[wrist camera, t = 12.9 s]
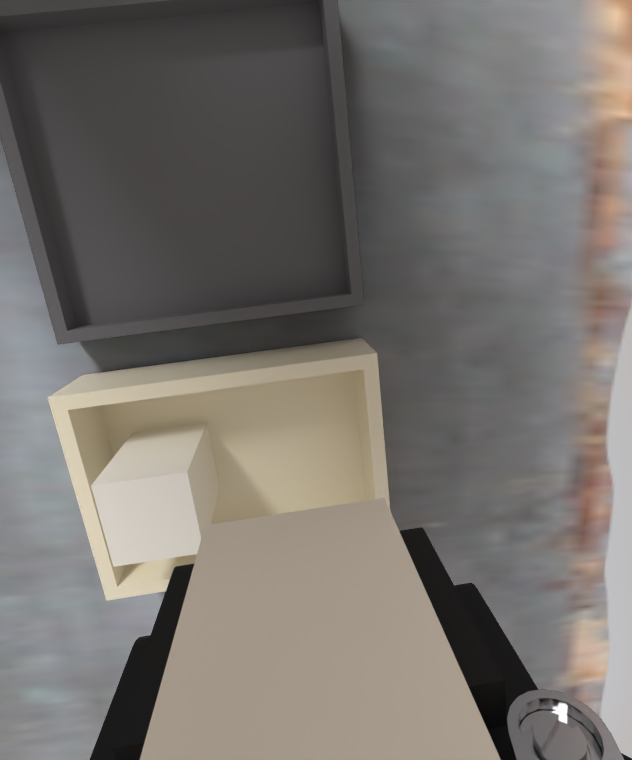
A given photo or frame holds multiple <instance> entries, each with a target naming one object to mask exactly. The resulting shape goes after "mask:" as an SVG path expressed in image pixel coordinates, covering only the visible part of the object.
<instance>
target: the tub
mask: <svg viewBox="0 0 632 760" xmlns="http://www.w3.org/2000/svg"><path fill="white" fill-rule="evenodd" d="M48 401H49V404H50V408H51V411H52V414H53V418H54V421H55V425H56V428H57V432H58V435H59V439H60V442H61V445H62V449H63V452H64V456H65V459H66V463H67V466H68V469H69V473H70V476H71V480H72V483H73V487H74V490H75V494H76V497H77V500H78V504H79V507H80V511H81V514H82V518H83V521H84V524H85V528H86V531H87V535H88V538H89V542H90V545H91V549H92V552H93V555H94V559H95V562H96V566H97V569H98V573H99V576H100V579H101V583H102V586H103V590H104V593H105V597H106V600H113V599H119V598H126V597H132V596H138V595H145V594H151V593H157V592H164V591H166V589H167V587H168V584H169V581H170V578H171V575H172V572H173V570H174V568H175V567H176V566H182V565H188V564H194V563H195V560H196V556H197V554H194V555H187V556H181V557H174V558H168V559H161V560H154V561H148V562H141V563H135V564H128V565H122V566H115V567H113V563H112V560H111V556H110V553H109V549H108V545H107V542H106V538H105V534H104V531H103V527H102V524H101V520H100V516H99V513H98V509H97V506H96V502H95V498H94V495H93V491H92V487H91V485H92V484H93V483H94V481H95V480H96V479H97V478H98V476H99V475H100V474H101V472H102V471H103V470H104V469H105V467H106V466H107V465H108V464H109V462H110V461H111V460H112V458H113V457H114V456H115V455H116V453H117V452H118V451H119V450H120V448H121V447H122V446H123V444H124V443H125V442H126V441H127V439H128V438H129V437H130V436H131V434H132V433H133V432H139V431H146V430H153V429H161V428H168V427H175V426H182V425H190V424H197V423H204V422H207V425H208V430H209V435H210V440H211V446H212V451H213V456H214V461H215V466H216V472H217V477H218V482H219V487H220V488H219V492H218V496H217V500H216V505H215V509H214V513H213V518H212V522H211V524H218V523H224V522H231V521H237V520H243V519H250V518H256V517H263V516H269V515H276V514H282V513H289V512H295V511H302V510H308V509H314V508H321V507H327V506H334V505H340V504H347V503H353V502H360V501H366V500H372V499H379V498H385V500H386V503H387V505H388V507H389V509H390V501H389V489H388V477H387V465H386V453H385V441H384V429H383V417H382V405H381V393H380V381H379V369H378V357H377V352H376V351H375V350H374V349H373V348H372V347H371V346H369V345H368V344H367V343H366V342H365V341H364V340H363V339H362V338H356V339H349V340H341V341H334V342H326V343H319V344H311V345H304V346H296V347H289V348H281V349H274V350H266V351H259V352H251V353H244V354H236V355H229V356H221V357H214V358H206V359H199V360H191V361H183V362H176V363H168V364H161V365H153V366H146V367H138V368H131V369H123V370H116V371H108V372H101V373H93V374H86V375H82V376H80V377H79V378H77V379H76V380H74V381H73V382H71V383H70V384H68V385H66V386H65V387H63V388H62V389H60V390H59V391H57V392H55V393H54V394H52V395H51V396H49V397H48Z"/></svg>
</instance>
